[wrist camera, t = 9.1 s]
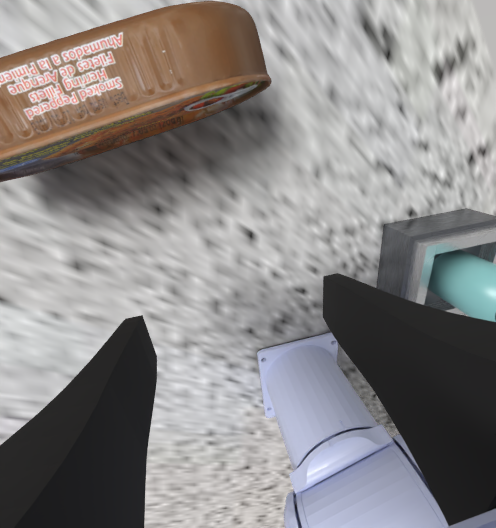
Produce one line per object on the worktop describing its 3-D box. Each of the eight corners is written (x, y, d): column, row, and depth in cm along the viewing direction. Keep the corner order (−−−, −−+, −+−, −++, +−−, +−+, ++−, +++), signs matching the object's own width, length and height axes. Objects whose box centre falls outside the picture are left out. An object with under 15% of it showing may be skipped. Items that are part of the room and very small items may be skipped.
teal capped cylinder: (463, 286, 24) (543, 330, 19) (421, 297, 23) (492, 346, 18) (473, 243, 22) (565, 279, 17) (428, 255, 22) (509, 296, 16)
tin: (11, 183, 16) (-131, 226, 9) (-29, 125, 15) (-239, 120, 7) (250, 103, 17) (304, 81, 10) (235, 41, 16) (284, -39, 8)
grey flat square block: (447, 286, 28) (488, 310, 24) (374, 303, 27) (406, 331, 23) (466, 208, 24) (518, 222, 20) (383, 224, 23) (422, 242, 19)
